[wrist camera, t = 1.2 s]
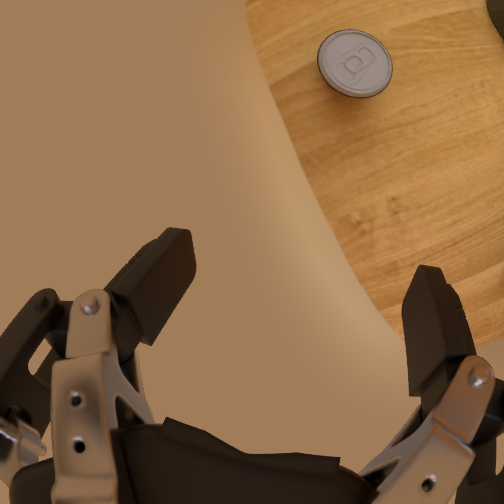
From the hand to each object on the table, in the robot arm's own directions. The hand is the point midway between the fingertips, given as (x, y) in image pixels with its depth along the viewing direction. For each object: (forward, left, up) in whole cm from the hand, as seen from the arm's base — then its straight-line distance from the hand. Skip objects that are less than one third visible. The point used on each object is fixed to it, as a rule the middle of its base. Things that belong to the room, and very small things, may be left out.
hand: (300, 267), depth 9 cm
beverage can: (-8, +3, -25) cm, 26 cm away
